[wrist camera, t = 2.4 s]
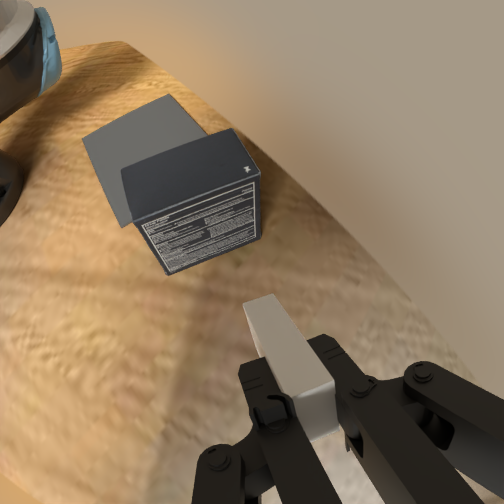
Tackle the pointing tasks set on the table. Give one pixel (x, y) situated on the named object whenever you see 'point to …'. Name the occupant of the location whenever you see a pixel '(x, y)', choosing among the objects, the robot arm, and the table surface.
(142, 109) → the mat
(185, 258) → the small box
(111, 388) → the table surface
